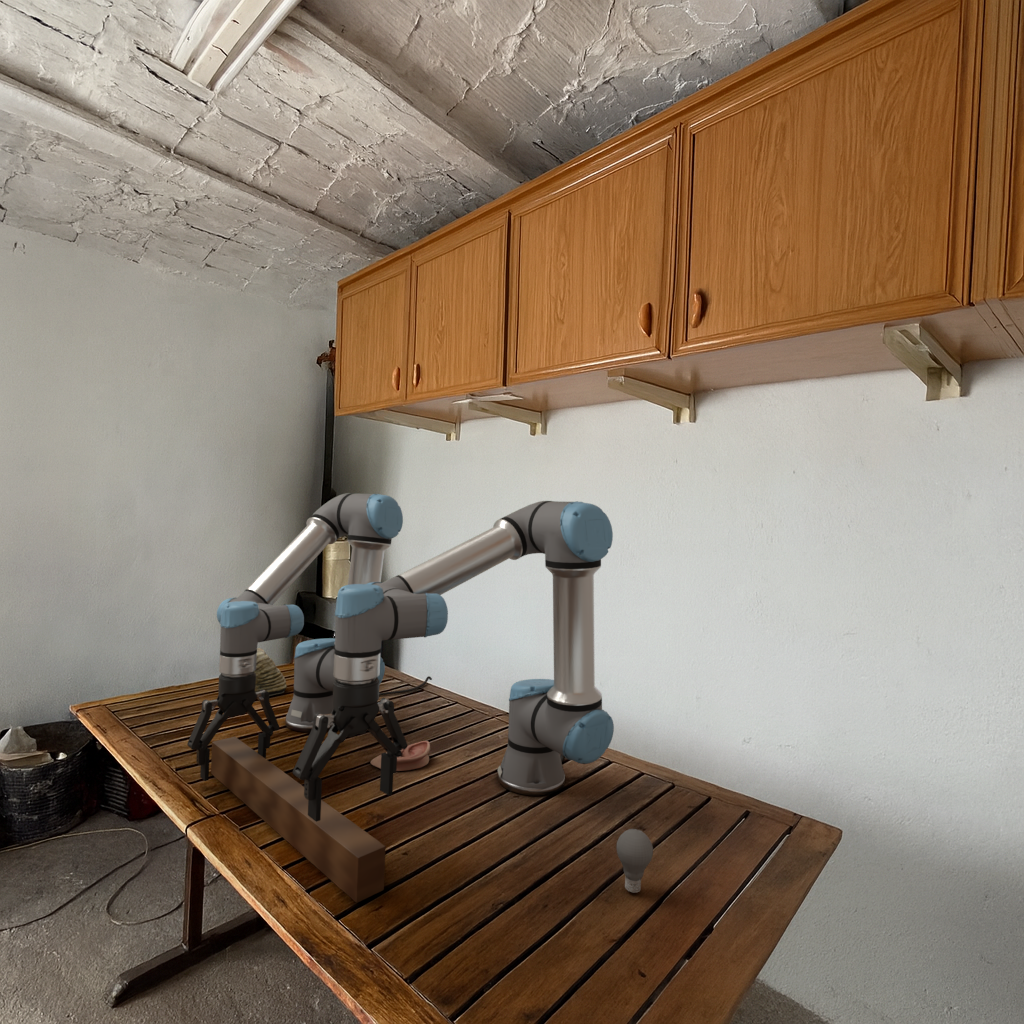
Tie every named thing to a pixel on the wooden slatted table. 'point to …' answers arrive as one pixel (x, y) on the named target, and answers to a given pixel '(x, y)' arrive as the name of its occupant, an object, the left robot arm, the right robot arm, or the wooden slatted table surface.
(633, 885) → the light bulb
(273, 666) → the fossil
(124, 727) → the wooden slatted table surface
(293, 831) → the bar
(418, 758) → the anatomical model
